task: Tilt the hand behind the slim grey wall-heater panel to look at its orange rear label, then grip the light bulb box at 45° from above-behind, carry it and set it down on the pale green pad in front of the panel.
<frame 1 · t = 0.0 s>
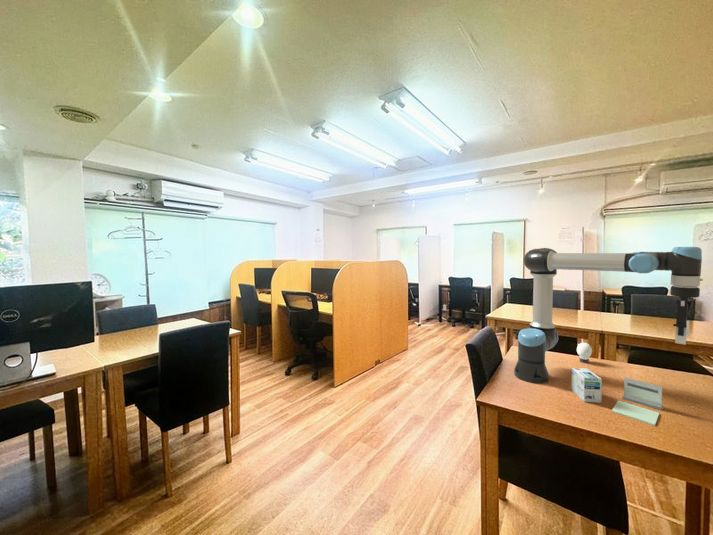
hand: (682, 339, 113), 28 cm above the table, tool pointing down, fingers open, 13 cm apart
pad: (635, 412, 113), on the table
light bulb: (583, 362, 161), on the table
light bulb box: (585, 396, 126), on the table
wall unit: (641, 403, 119), on the table
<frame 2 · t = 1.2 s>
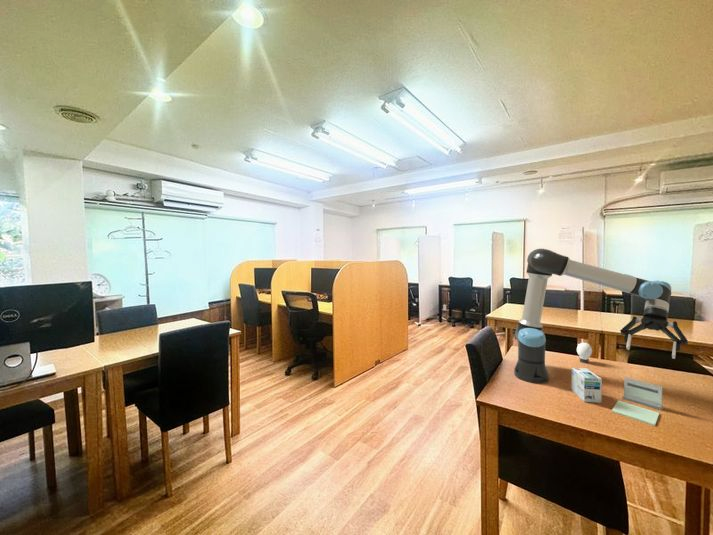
hand: (649, 352, 121), 20 cm above the table, tool tilted 45°, fingers open, 13 cm apart
nothing on the table moved.
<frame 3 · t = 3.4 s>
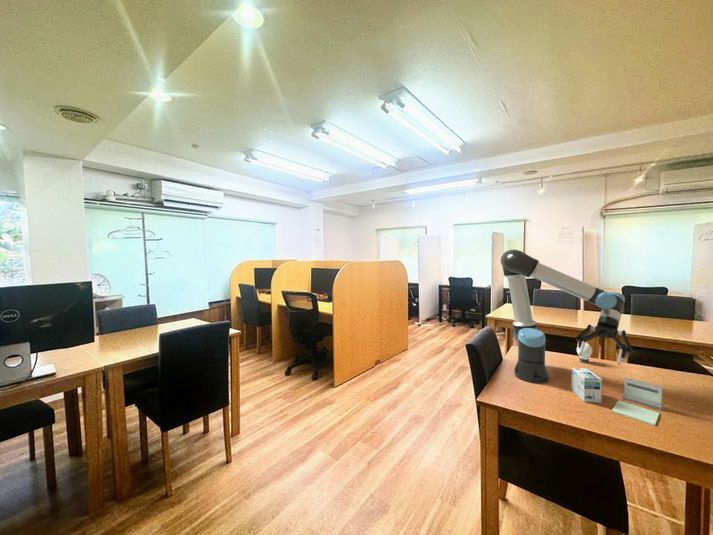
hand: (598, 358, 131), 14 cm above the table, tool tilted 45°, fingers open, 13 cm apart
nothing on the table moved.
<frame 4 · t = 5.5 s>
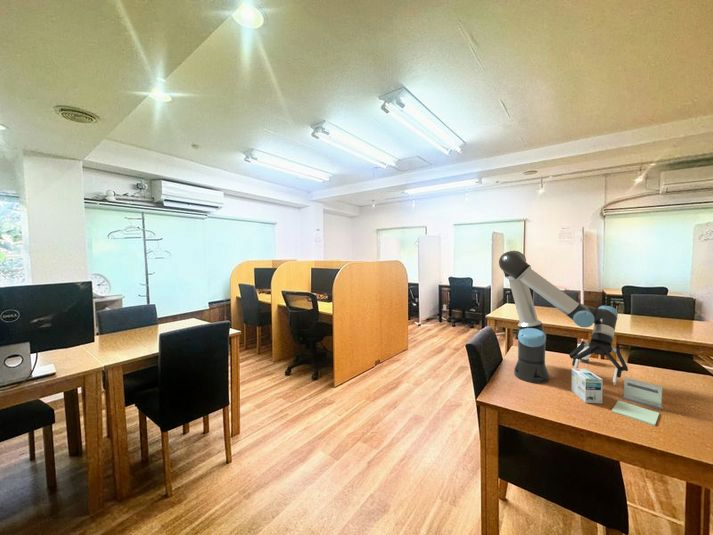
hand: (593, 378, 126), 8 cm above the table, tool tilted 45°, fingers open, 13 cm apart
light bulb box: (586, 397, 125), on the table, touching gripper
everything else where it was.
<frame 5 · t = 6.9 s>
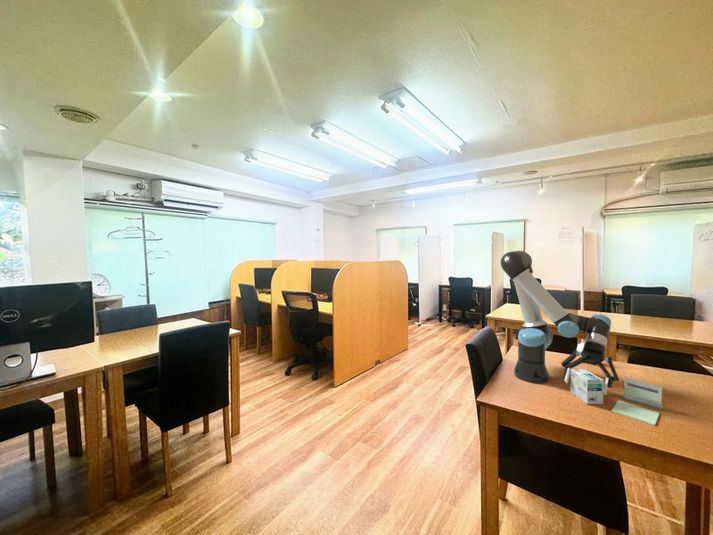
hand: (584, 387, 124), 5 cm above the table, tool tilted 45°, fingers open, 13 cm apart
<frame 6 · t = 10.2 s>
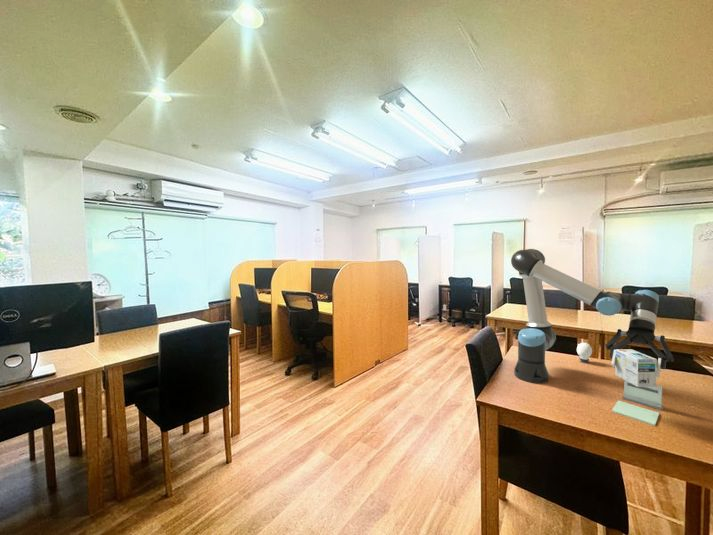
hand: (634, 370, 110), 18 cm above the table, tool tilted 45°, fingers closed on light bulb box, 12 cm apart
light bulb box: (634, 381, 111), point 13 cm above the table, touching gripper
everything else where it was.
when the fingers open (5 cm above the table, at t = 13.2 s): light bulb box stays where it is, resting on pad.
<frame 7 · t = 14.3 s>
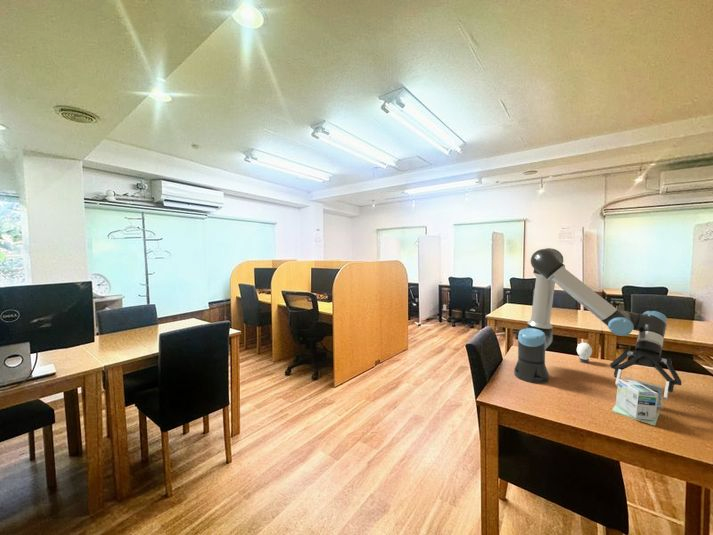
hand: (639, 391, 112), 9 cm above the table, tool tilted 45°, fingers open, 13 cm apart
light bulb box: (634, 412, 112), point 1 cm above the table, touching pad
everything else where it was.
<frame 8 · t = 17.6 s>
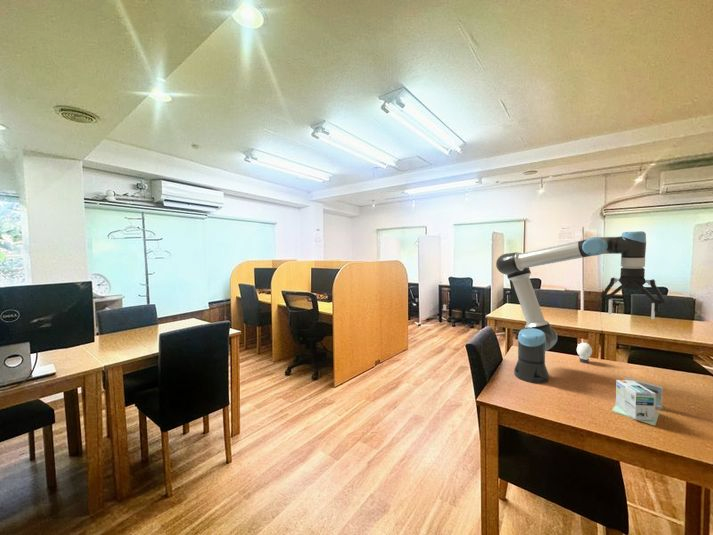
hand: (630, 316, 125), 35 cm above the table, tool pointing down, fingers open, 13 cm apart
nothing on the table moved.
at the end: light bulb box inside the target area on the pad (1.3 cm from its centre), point 0.4 cm above the pad's base; light bulb box tilted 0°; the gripper is holding nothing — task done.
